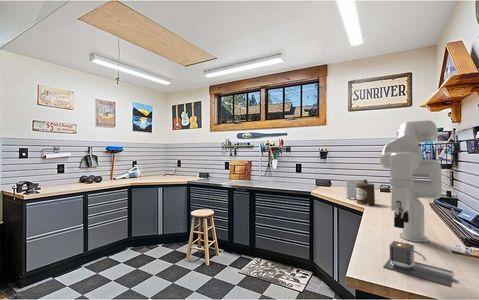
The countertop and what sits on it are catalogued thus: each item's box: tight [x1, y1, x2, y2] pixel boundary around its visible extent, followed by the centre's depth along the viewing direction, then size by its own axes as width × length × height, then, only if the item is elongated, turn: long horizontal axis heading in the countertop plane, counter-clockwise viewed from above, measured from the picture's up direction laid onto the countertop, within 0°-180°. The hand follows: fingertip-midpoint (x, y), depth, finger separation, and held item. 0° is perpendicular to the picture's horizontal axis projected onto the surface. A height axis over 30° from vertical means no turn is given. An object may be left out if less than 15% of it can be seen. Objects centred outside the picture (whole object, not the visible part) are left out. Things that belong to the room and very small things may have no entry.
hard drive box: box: [345, 178, 365, 199], centre depth 243 cm, size 16×8×20 cm, turn 82°
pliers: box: [400, 241, 426, 261], centre depth 113 cm, size 10×1×20 cm
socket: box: [389, 240, 415, 265], centre depth 97 cm, size 7×7×6 cm
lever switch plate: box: [383, 253, 454, 288], centre depth 93 cm, size 14×20×6 cm
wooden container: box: [356, 179, 376, 205], centre depth 219 cm, size 15×15×22 cm
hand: (401, 224), depth 97 cm, fingers open, 9 cm apart
